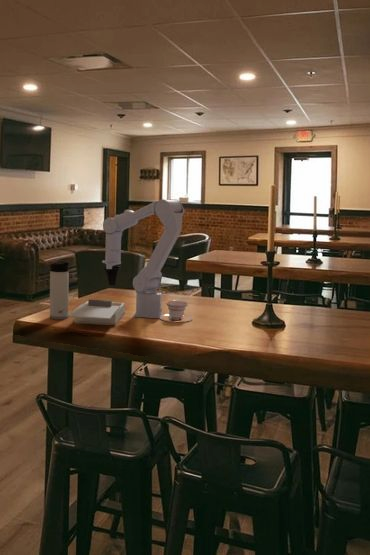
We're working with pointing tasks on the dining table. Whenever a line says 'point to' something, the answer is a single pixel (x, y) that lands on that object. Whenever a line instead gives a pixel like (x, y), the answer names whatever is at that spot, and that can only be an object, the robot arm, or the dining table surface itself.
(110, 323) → the box
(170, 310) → the teacup
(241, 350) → the dining table surface
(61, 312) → the travel mug
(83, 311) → the lid
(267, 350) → the dining table surface
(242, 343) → the dining table surface
